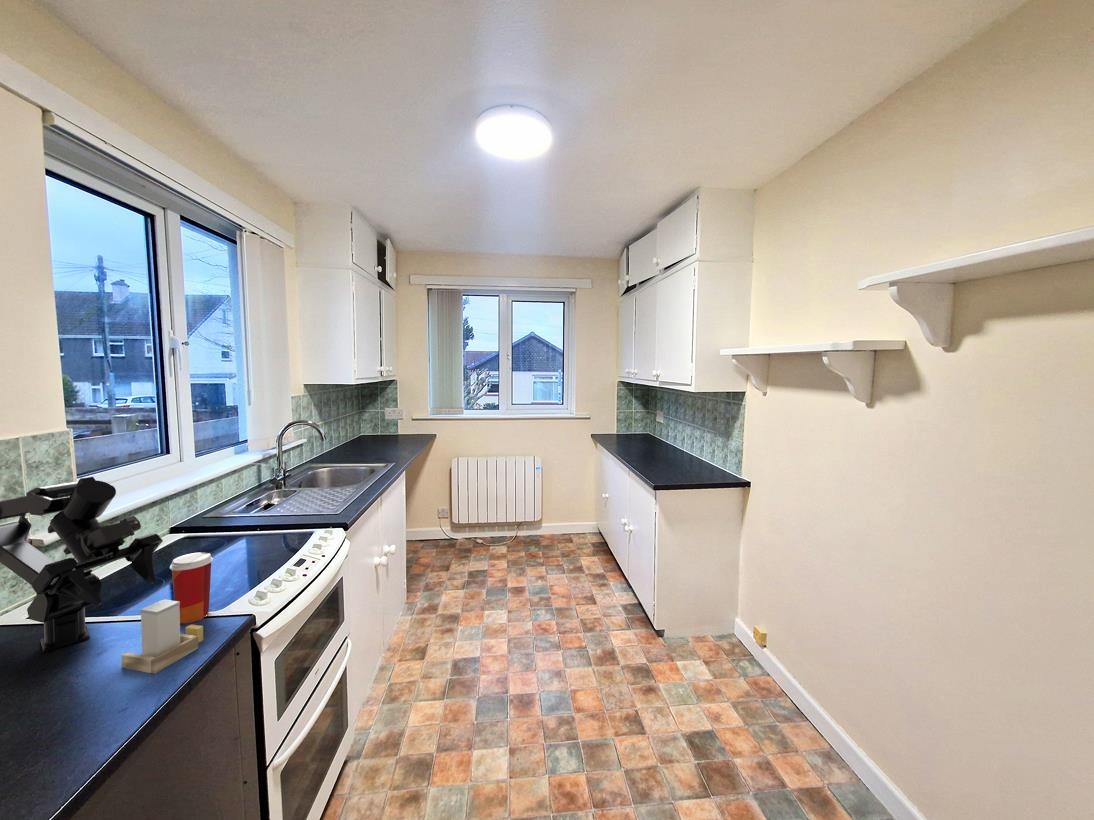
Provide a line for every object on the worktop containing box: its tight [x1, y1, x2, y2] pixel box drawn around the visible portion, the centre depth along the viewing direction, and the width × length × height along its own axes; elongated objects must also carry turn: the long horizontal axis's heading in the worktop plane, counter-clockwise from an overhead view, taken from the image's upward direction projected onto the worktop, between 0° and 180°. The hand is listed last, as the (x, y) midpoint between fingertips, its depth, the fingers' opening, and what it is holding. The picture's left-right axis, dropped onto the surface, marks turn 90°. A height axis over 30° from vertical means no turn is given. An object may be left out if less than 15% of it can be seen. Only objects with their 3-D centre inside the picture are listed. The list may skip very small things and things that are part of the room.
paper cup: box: [169, 551, 214, 625], centre depth 99 cm, size 8×8×14 cm
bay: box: [121, 633, 199, 674], centre depth 84 cm, size 8×8×2 cm
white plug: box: [140, 599, 181, 657], centre depth 84 cm, size 4×4×10 cm
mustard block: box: [185, 623, 204, 644], centre depth 90 cm, size 3×1×3 cm, turn 78°
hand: (127, 592), depth 85 cm, fingers open, 9 cm apart
